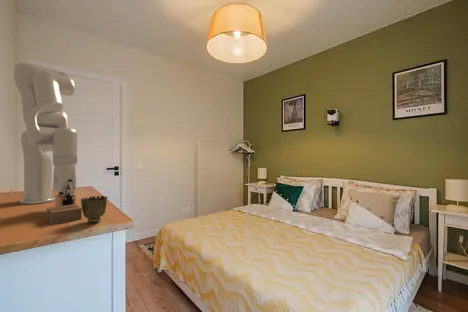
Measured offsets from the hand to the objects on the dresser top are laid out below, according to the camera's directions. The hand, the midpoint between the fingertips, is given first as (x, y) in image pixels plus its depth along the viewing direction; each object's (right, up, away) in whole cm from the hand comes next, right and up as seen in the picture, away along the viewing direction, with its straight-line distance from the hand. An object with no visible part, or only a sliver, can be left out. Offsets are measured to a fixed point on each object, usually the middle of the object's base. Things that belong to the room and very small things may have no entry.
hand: (65, 208), depth 89 cm
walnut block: (+7, -2, -10) cm, 13 cm away
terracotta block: (0, -1, 0) cm, 1 cm away
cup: (+19, -2, -13) cm, 23 cm away
